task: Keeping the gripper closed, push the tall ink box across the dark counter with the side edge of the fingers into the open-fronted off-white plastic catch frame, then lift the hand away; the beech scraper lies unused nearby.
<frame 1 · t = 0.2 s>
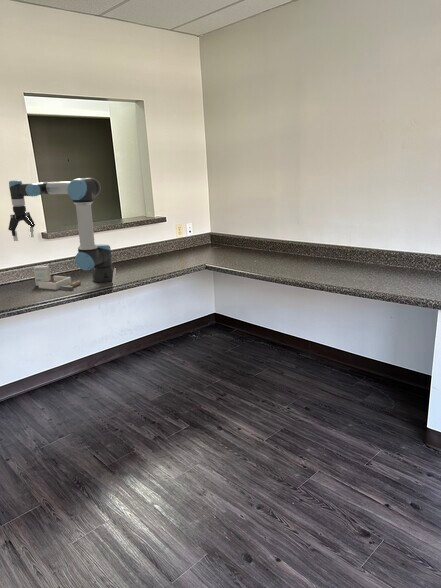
hand: (24, 239, 286), 27 cm above the counter, fingers open, 13 cm apart
catch frame: (55, 285, 279), on the counter
ink box: (43, 284, 282), on the counter
scraper: (71, 287, 273), on the counter
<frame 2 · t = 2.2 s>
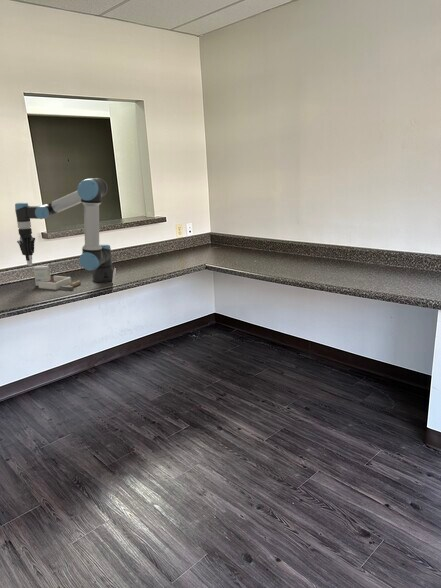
hand: (29, 265, 281), 12 cm above the counter, fingers closed
nothing on the counter moved.
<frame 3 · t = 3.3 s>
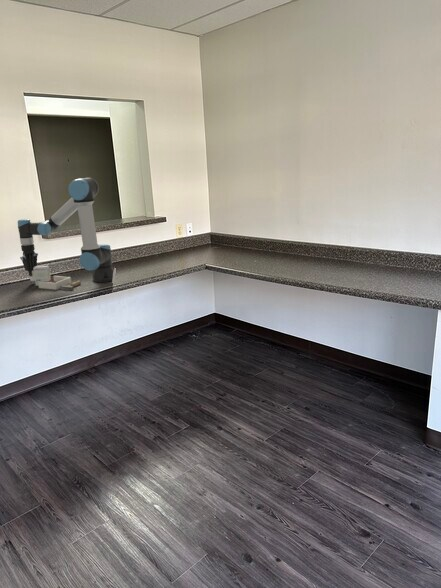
hand: (33, 280, 284), 2 cm above the counter, fingers closed
nothing on the counter moved.
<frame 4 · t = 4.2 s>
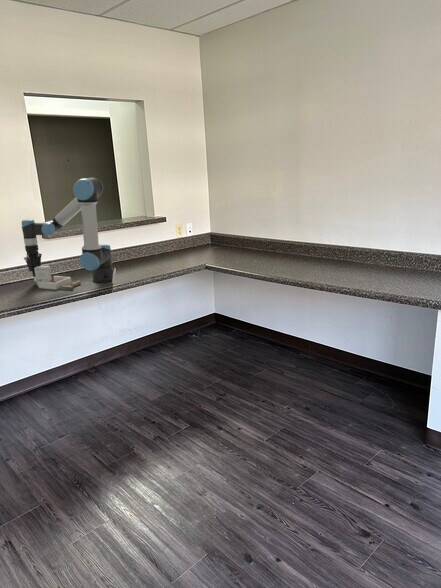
hand: (36, 281, 283), 2 cm above the counter, fingers closed
ink box: (44, 284, 282), on the counter, touching gripper
everything else where it was.
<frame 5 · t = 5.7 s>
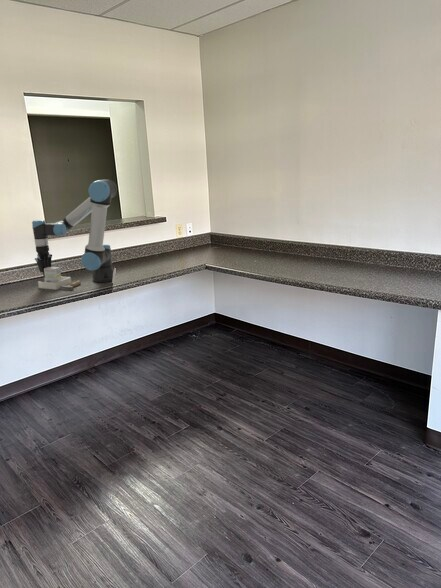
hand: (47, 282, 280), 2 cm above the counter, fingers closed
ink box: (54, 286, 278), on the counter, touching gripper
everything else where it was.
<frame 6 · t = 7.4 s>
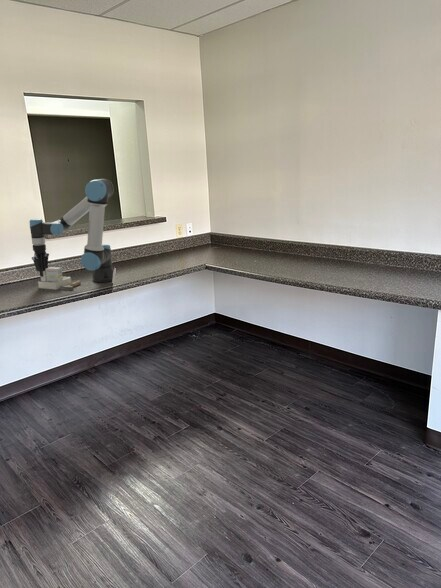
hand: (43, 280, 281), 2 cm above the counter, fingers closed
ink box: (56, 286, 277), on the counter
everything else where it was.
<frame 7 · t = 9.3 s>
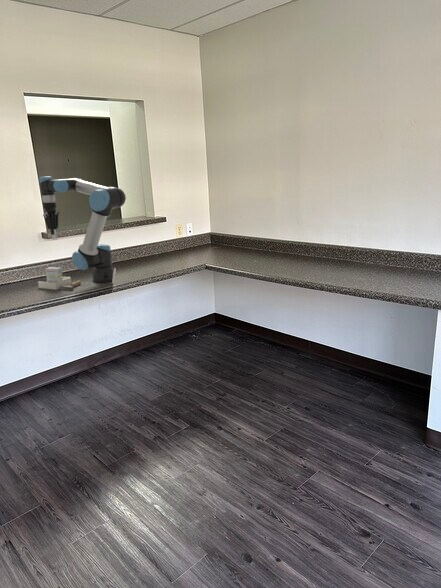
hand: (54, 239, 284), 27 cm above the counter, fingers closed
nothing on the counter moved.
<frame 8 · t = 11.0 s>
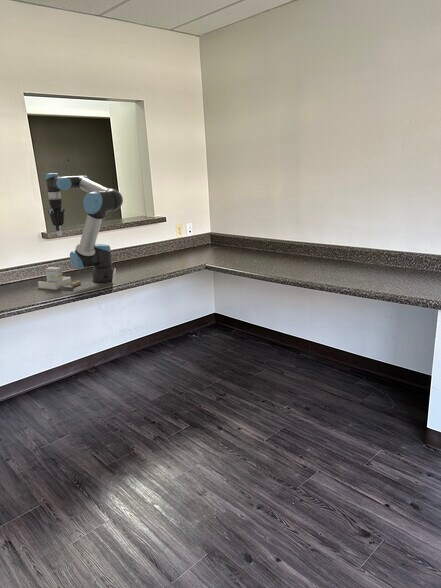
hand: (59, 235, 287), 28 cm above the counter, fingers closed
nothing on the counter moved.
at the end: ink box inside the target area (1.9 cm from its centre), on the counter; ink box moved 10.5 cm from its start; the gripper is holding nothing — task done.
